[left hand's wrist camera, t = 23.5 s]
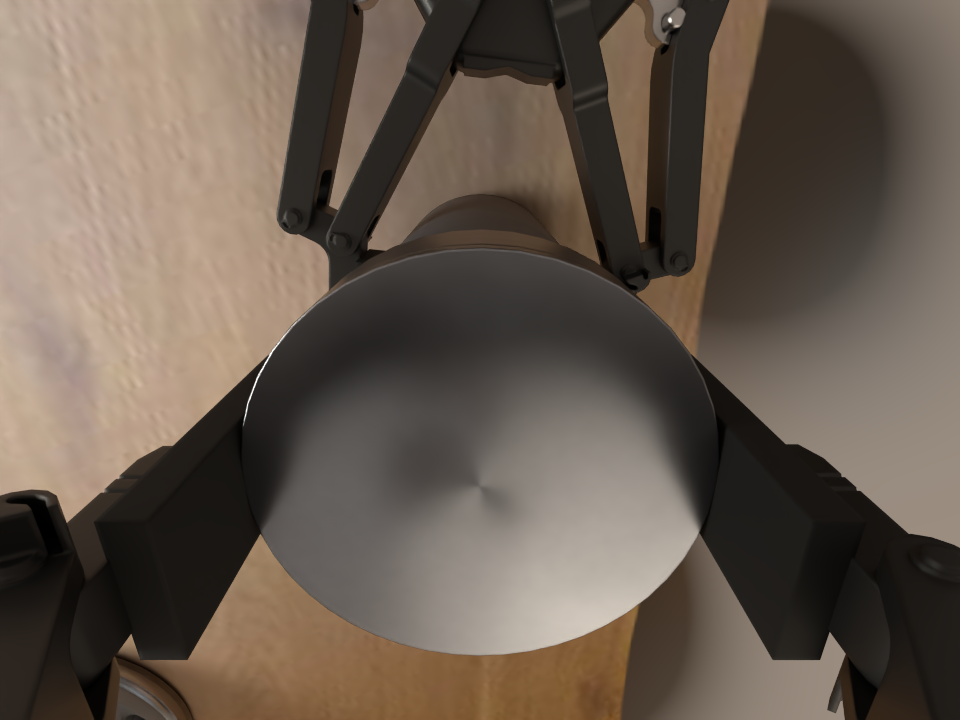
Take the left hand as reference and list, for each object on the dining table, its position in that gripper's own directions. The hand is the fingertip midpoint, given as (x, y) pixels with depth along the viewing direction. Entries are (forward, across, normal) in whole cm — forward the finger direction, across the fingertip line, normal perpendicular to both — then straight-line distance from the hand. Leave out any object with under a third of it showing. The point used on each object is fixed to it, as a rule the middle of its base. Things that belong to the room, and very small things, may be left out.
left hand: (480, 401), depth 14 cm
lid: (-3, 0, 0) cm, 3 cm away
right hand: (+8, 0, -5) cm, 10 cm away
